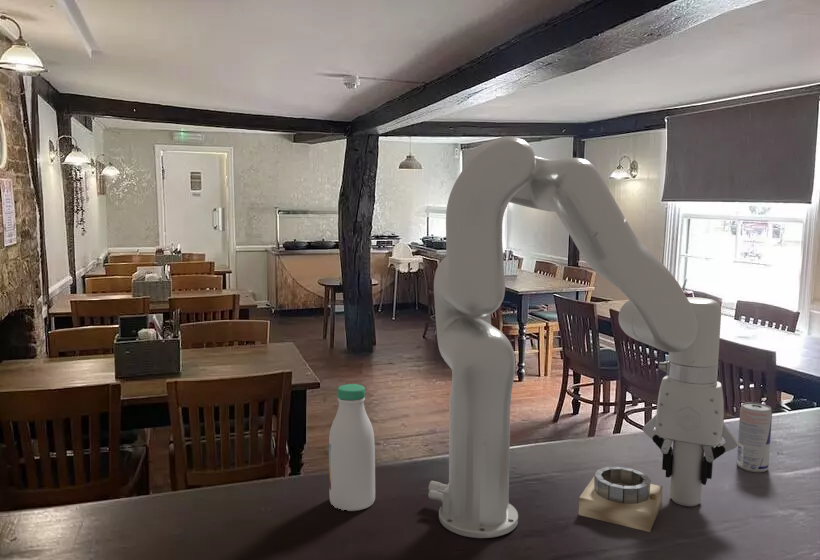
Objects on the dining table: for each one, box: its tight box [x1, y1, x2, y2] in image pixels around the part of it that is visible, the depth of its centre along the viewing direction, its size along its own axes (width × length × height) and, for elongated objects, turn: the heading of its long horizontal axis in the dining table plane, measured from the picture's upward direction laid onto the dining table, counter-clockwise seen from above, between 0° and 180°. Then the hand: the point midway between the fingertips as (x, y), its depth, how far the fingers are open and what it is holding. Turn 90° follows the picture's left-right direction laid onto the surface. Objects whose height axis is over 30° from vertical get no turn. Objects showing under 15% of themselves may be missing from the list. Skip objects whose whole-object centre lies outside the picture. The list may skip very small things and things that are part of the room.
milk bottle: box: [328, 383, 376, 512], centre depth 109 cm, size 8×8×20 cm
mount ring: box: [593, 466, 652, 504], centre depth 107 cm, size 8×8×2 cm
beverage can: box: [669, 440, 705, 507], centre depth 109 cm, size 5×5×12 cm
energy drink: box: [736, 401, 773, 473], centre depth 123 cm, size 5×5×12 cm
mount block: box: [578, 475, 663, 533], centre depth 107 cm, size 11×11×4 cm
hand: (686, 477), depth 109 cm, fingers closed on beverage can, 4 cm apart
